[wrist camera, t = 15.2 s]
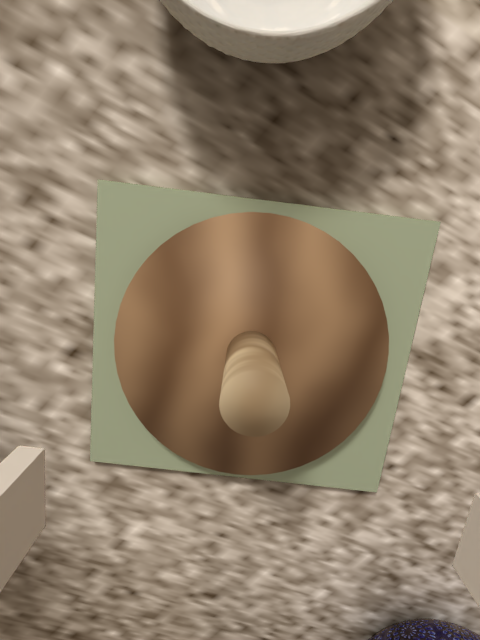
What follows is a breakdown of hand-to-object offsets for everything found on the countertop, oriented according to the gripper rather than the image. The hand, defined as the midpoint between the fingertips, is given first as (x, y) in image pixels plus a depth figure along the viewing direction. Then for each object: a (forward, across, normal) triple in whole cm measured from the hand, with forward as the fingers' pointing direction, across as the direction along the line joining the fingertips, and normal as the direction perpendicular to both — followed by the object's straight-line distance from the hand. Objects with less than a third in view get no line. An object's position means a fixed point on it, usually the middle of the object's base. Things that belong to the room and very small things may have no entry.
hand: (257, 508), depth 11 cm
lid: (+16, 0, 0) cm, 16 cm away
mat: (+17, 0, 0) cm, 17 cm away
